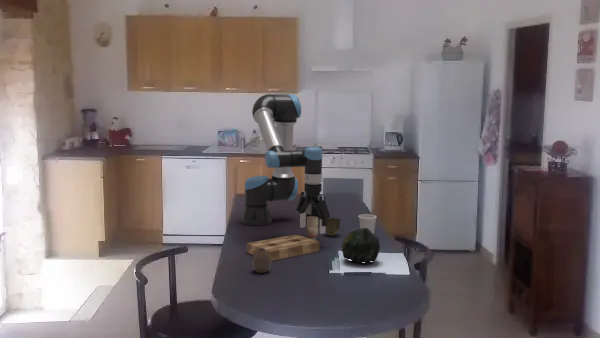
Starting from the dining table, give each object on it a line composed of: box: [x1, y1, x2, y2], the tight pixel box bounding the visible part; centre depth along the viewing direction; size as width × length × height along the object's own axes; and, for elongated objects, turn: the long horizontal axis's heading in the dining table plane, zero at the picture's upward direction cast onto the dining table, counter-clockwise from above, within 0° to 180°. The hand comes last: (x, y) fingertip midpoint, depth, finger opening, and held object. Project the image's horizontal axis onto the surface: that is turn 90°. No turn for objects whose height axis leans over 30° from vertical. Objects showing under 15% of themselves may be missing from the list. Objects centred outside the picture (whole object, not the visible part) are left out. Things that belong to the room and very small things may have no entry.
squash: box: [341, 228, 381, 265], centre depth 249 cm, size 14×15×15 cm
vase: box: [252, 248, 272, 274], centre depth 236 cm, size 7×7×9 cm
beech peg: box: [306, 216, 319, 241], centre depth 278 cm, size 5×5×12 cm
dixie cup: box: [357, 213, 377, 235], centre depth 289 cm, size 8×8×10 cm
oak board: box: [246, 233, 321, 262], centre depth 263 cm, size 16×26×4 cm, turn 128°
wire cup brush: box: [325, 216, 341, 237], centre depth 292 cm, size 8×7×8 cm
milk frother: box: [304, 194, 322, 228], centre depth 311 cm, size 14×16×15 cm
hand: (312, 230), depth 278 cm, fingers open, 13 cm apart
